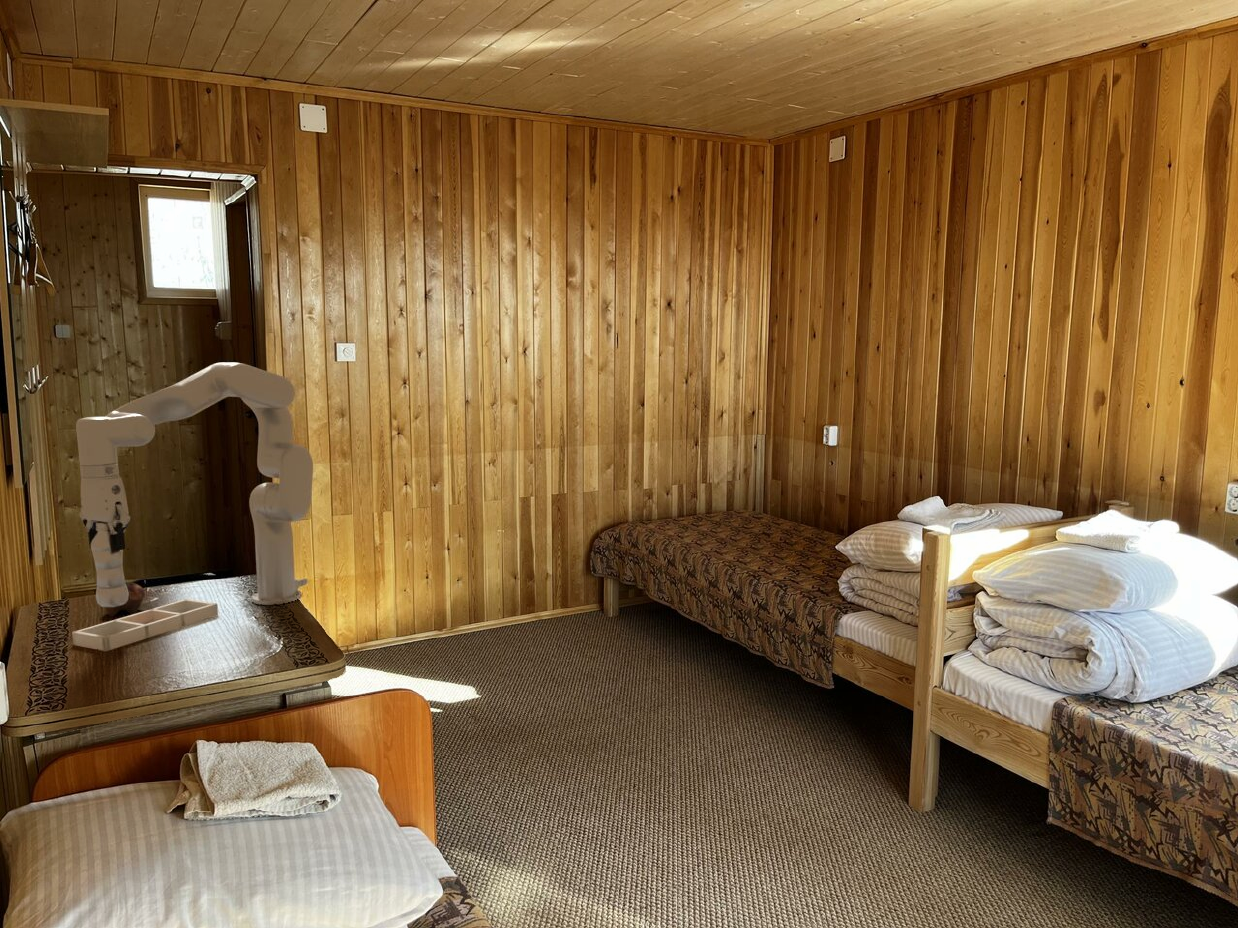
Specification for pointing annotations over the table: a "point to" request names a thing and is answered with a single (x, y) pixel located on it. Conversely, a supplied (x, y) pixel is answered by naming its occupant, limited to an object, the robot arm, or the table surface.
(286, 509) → the robot arm
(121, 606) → the decorative turtle
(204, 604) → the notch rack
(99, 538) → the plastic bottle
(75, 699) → the table surface
